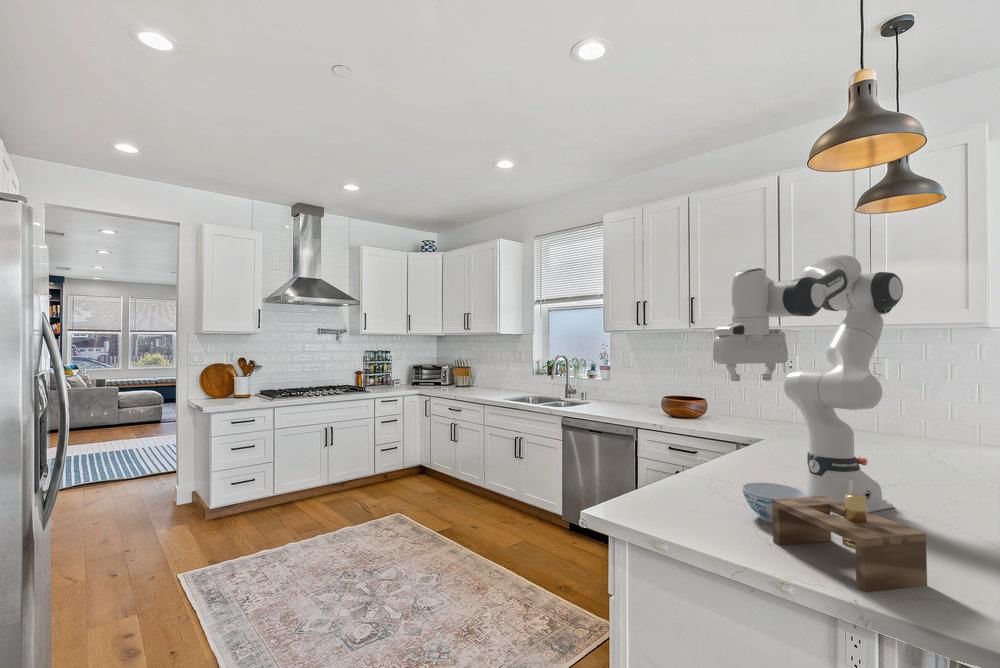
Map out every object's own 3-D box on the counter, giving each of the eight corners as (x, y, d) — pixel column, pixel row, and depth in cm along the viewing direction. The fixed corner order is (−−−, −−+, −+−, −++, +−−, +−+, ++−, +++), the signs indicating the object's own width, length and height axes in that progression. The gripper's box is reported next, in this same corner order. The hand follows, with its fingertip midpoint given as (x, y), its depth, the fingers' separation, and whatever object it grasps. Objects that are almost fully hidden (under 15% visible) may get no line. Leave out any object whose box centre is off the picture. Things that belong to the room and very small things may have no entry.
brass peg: (856, 540, 104) (855, 492, 105) (877, 549, 100) (875, 499, 100) (836, 541, 104) (835, 493, 104) (857, 551, 99) (855, 500, 99)
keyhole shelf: (773, 541, 115) (772, 499, 116) (824, 537, 118) (823, 495, 118) (865, 592, 92) (864, 538, 92) (927, 585, 94) (925, 533, 95)
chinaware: (732, 509, 138) (732, 482, 138) (786, 510, 137) (786, 482, 138) (759, 529, 123) (758, 499, 123) (820, 530, 122) (819, 499, 123)
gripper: (776, 329, 135) (777, 379, 135) (709, 329, 132) (710, 380, 131) (793, 328, 129) (794, 380, 129) (723, 328, 125) (724, 382, 125)
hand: (751, 380), depth 130 cm, fingers open, 8 cm apart
